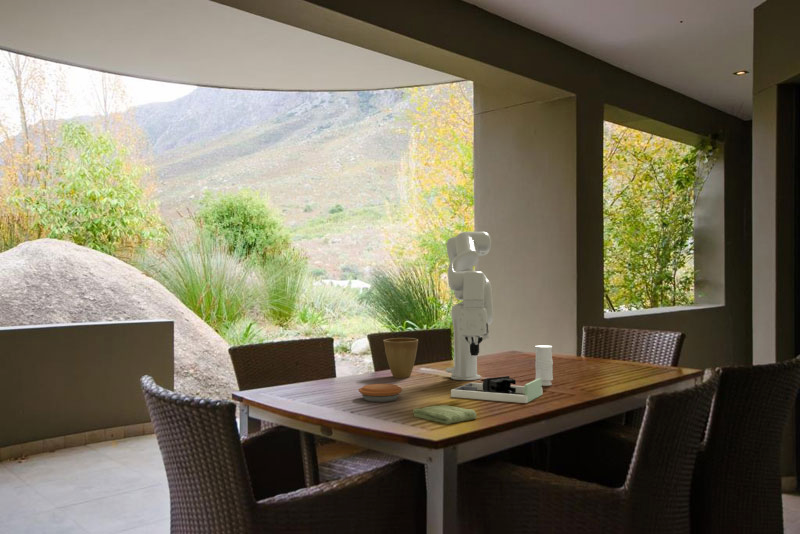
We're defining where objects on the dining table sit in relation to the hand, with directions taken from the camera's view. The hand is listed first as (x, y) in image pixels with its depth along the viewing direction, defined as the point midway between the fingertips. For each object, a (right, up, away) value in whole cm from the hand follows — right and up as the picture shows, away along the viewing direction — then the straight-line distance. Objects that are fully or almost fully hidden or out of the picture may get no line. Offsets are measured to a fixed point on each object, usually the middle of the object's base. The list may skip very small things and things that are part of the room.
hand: (474, 355), depth 246 cm
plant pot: (-27, -15, +44) cm, 53 cm away
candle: (+30, -14, +19) cm, 38 cm away
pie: (-34, -15, -7) cm, 38 cm away
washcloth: (-14, -15, -39) cm, 44 cm away
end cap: (+8, -14, -4) cm, 17 cm away
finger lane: (+8, -14, -4) cm, 16 cm away
